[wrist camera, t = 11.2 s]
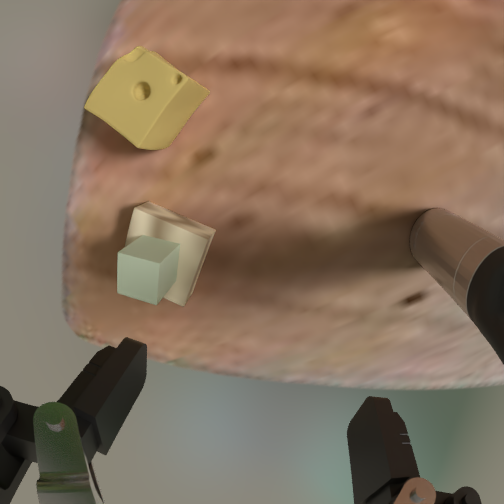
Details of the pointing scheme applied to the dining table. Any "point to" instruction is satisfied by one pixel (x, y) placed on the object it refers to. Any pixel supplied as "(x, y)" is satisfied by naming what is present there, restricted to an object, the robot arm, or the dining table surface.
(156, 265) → the block
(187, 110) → the cheese
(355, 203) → the dining table surface
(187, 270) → the birch box
